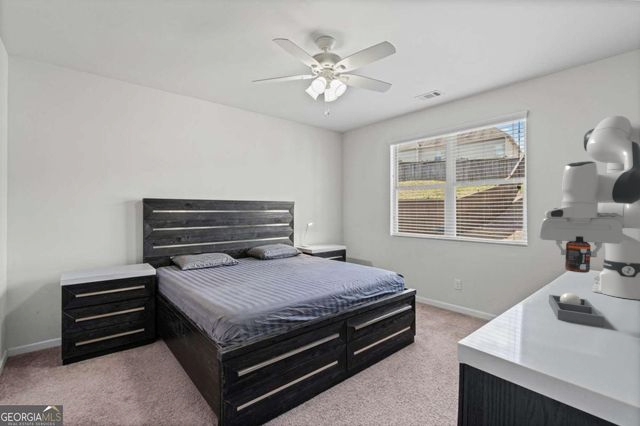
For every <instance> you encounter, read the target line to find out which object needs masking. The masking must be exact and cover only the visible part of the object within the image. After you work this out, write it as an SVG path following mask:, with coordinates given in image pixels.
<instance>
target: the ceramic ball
mask: <svg viewBox="0 0 640 426" xmlns="http://www.w3.org/2000/svg"><path fill="white" fill-rule="evenodd" d="M560 296H561V297H560V302H562V303H569V304H577V305H581V300H580V299H581V297H579V296H578V295H577V294H575V293H572V292H565V293H563V294H562V295H560Z"/></svg>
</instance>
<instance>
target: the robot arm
mask: <svg viewBox="0 0 640 426" xmlns="http://www.w3.org/2000/svg"><path fill="white" fill-rule="evenodd" d="M582 145H583V148H584V149H583V150H584V151H585V152H587V154H588V155H589V157H591V159H593V160H595V161H596V162H595V161H591V160H585V161H579V162H569V163H568V164H566V165H565V166H564V170H563V172H562V181H561V192H562V199H561V201H560V203H561V206H560V207H555V208H553V209H549V210H546V211H544V212H543V215H544V218H543V219H541V221H540V223H539V230H538V237H539V238H540V240H543V241H555V245H556V246H557V248H558V249H559V255H561V256H566V251H567V250H566V248H563V247H562V244H563V242H564V241H565V242H569V241H576V240H575V239H576V236H582V237H583V241H584V242H587V243H594V249H592V250H590V258H597V257H598V252H599V251H600V249H601V248H603V244H604V248H605V249H604V250H605V251H604V252H605V253H604V254H605V259H603V265H602V266H603V269H602V270H601V271H600V273H599V274H597V275H594V281H596V283H593V284H592V289H591V290H592V292H594V293H599V294H603V295H607V296H611V297H617V298H623V299H631V300H640V240H638V239H636V238H635V237H631V236H629V235H626V233H624V232H623V229H634V230H635V229H637V230H640V120H637V121H635V120H634V121H630V120H629V118H627V117H626V116H623V115H613V116H608V117H606V118H604V119H602V120H601V121H600V122H599V123H598V124H597V125H596V126H595V127H594V128H592V129H590V130H588V131H587V132H586V133H585V134H584V136H583V140H582ZM597 162H601V163H606V172H601V173H599V171H598V167H597Z"/></svg>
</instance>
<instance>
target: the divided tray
mask: <svg viewBox="0 0 640 426" xmlns="http://www.w3.org/2000/svg"><path fill="white" fill-rule="evenodd" d="M561 296H562V295H555V294H548V304H549V306H550V308H551V310H552V312H553V313H554V315H555V317H556V320H558V321H565V322H569V323H570V322H572V323H576V324H577V323H578V324H582V325H589V326H595V327H602V328H604V316H603V314H601V312H599V311H598V309H597V308H595V306H594V305H593V304H592V303H591V302H590V301H589V300H588V299H587V298H580V300H581V305H577V304H569V303H562V302H560V297H561Z"/></svg>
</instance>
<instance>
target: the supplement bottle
mask: <svg viewBox="0 0 640 426" xmlns="http://www.w3.org/2000/svg"><path fill="white" fill-rule="evenodd" d="M575 240H576V241H566V245H565V249H566V250H567V251H566V255H565V265H564V266H565V268H564V269H565V270H566V271H569V272H573V273H584V274H585V273H586V274H587V273H589V272H590V268H591V257H590V251H591V244H590V242H584V241H583V237H582V236H576V239H575Z"/></svg>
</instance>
